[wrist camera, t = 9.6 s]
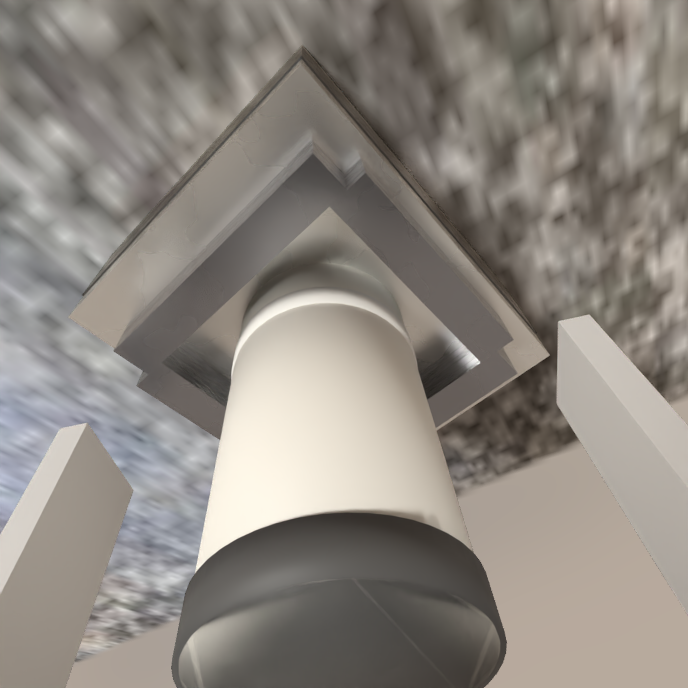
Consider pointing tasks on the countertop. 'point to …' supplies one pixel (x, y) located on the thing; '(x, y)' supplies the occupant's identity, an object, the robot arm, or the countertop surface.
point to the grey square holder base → (300, 255)
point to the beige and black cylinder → (333, 510)
